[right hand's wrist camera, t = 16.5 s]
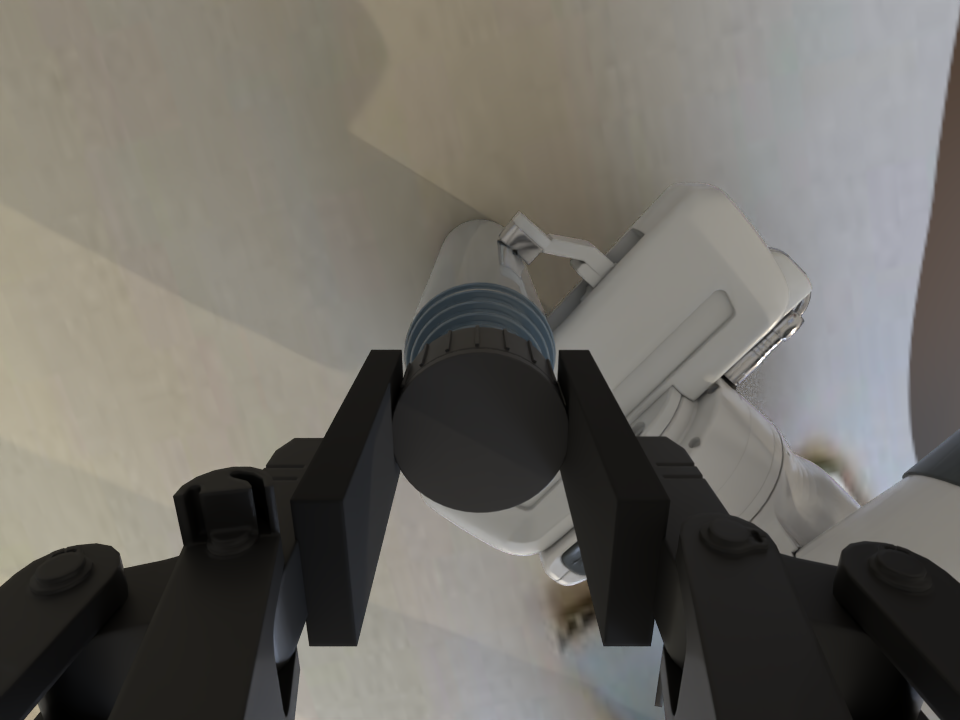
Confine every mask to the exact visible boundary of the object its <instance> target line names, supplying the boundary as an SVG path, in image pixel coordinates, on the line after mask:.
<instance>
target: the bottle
mask: <svg viewBox="0 0 960 720" xmlns="http://www.w3.org/2000/svg"><path fill="white" fill-rule="evenodd" d="M503 229H504V227H503V226H501V225H500V224H498V223H496V222H493V221H489V220H483V219H477V220H471V221H467V222H465V223H462V224H460V225H459V226H457V227H456V228H455V229H453V230H452V231H451V232H450V233H449V234H448V236H447V237H446V239H445V240H444V242H443V245H442V247H441V250H440V252H439V255H438V257H437V260H436V262H435V265H434V267H433V270H432V272H431V275H430V277H429V280H428V282H427V285H426V287H425V290H424V292H423V295H422V298H421V300H420V303H419V305H418V308H417V310H416V313H415V315H414V318H413V320H412V323H411V325H410V328H409V330H408V333H407V337H406V341H405V349H404V359H405V366H406V368H407V365H408V363H412V362H413V360H414V359H415V358H416V356H417V355H418V354H419V353H420V352H421V351H422V350H423V349H424V345H425V344H426V343H428V344H430V343H431V342H432V341H434V340H436V339H437V338H439V337H441V336H443V335H445V334H447V333H448V331H449V330H452V331H456V330H460V329H464V328H471V327H476V325H479V327H489V328H496V329H500V330H503V329H504V328H505V329H507V332H510V333H513V334H515V335H517V336H519V337H521V338H523V339H525V340H526V341H527V342H528V340H530V341H531V342H532V345H533V346H534V347H535V348H536V349H537V350H538V351H539V352H540V353H541V354H542V355H543V356H544V357H545V359H549V360H550V363H551V366H552V369H553V372H554V367H555V361H556V347H555V340H554V336H553V333H552V330H551V327H550V325H549V322H548V320H547V317H546V315H545V312H544V310H543V307H542V305H541V302H540V299H539V297H538V294H537V292H536V289H535V287H534V284H533V282H532V279H531V277H530V274H529V272H528V269H527V267H526V264H525V262H524V260H522V259H521V258H520V257H519V256H518V254H517V251H516V250H515V249H511V248H509V247H508V246H506V245H505V244H504V243H503V242H502V241H501V240H500V238H499V234H500V233H501V232H502V230H503Z"/></svg>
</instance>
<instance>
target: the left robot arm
mask: <svg viewBox="0 0 960 720" xmlns="http://www.w3.org/2000/svg"><path fill="white" fill-rule="evenodd" d="M499 238H500V240H501V241H502V242H503V243H504V244H505V245H506V246H508V247H509V248H511V249H515V250H516V251H517V254H518V256H519V257H520V258H521V259H522V260H524V261H525V262H526V263H527V264H528V265H529V264H530V263H531V262H532V261H533V260H534V259H535V258H536V257H537V256H538V255H539V254H540V252H542V253H547V254H552V255H557V256H562V257H567V258H572V260H571V261H570V265H571V266H572V267H573V268H574V270H575V271H576V272H577V273H578V274H579V275H580V276H581V277H582V278H583V279H582V280H581V281H580V282H579V283H578V284H577V285H576V286H575V287H574V288H573V289H572V290H571V291H570V293H569V294H568V295H567V296H566V297H565V298H564V299H563V300H562V301H561V302H560V303H559V304H558V305H557V306H556V308H555V309H554V310H553V311H552V312H551V313H550V314H549V315H548V316H547V320H548V322H549V325H550V327H551V330H552V333H553V336H554V340H555V347H556V361H555V367H554V375H555V377H556V380H557V374H558V354H559V350H589V351H590V353H591V355H592V356H593V358H594V360H595V362H596V364H597V366H598V368H599V369H600V371H601V373H602V375H603V377H604V379H605V380H606V382H607V384H608V386H609V388H610V390H611V391H612V393H613V395H614V397H615V399H616V401H617V403H618V404H619V406H620V408H621V410H622V412H623V414H624V415H625V417H626V419H627V421H628V423H629V425H630V426H631V428H632V430H633V432H634V434H635V436H666V437H668V438H669V439H671V440H672V441H674V442H675V443H677V444H678V445H680V446H681V447H683V448H684V449H685V450H686V452H687V453H688V454H689V456H690V457H691V459H692V460H693V462H694V463H695V466H697V468H698V469H699V471H700V472H701V473H702V475H703V478H705V479H706V481H707V482H708V484H709V485H710V487H711V488H712V490H713V491H714V492H715V494H716V495H717V497H718V498H719V500H720V501H721V503H722V504H723V506H724V507H725V509H726V510H727V512H728V513H729V514H730V515H732V516H737V517H739V518H742V519H744V520H746V521H749V522H751V523H753V524H755V525H756V526H758V527H759V528H761V529H762V530H763V531H765V532H766V533H768V535H769V536H770V537H771V539H772V540H773V541H774V543H775V544H776V545H777V548H778V550H779V552H780V553H781V554H785V555H789V556H792V557H796V558H800V559H805V560H810V561H815V562H820V563H825V564H830V565H835V566H838V562H839V558H840V555H841V551H842V550H843V549H844V548H845V547H846V546H848V545H849V544H850V543H856V542H861V541H871V542H882V543H888V544H893V545H894V546H900V547H903V548H906V549H909V550H910V551H912V552H914V553H916V554H919V555H921V556H923V557H925V558H927V559H929V560H930V561H932V562H933V563H935V564H936V565H938V566H939V567H941V568H942V569H944V570H945V571H946V572H948V573H949V574H950V575H951V576H952V577H953V578H955V579H956V580H957V581H958V582H959V583H960V429H958V430H957V431H956V432H955V433H954V434H952V435H951V436H950V437H949V438H947V439H946V440H945V441H944V442H943V443H941V444H940V445H939V446H938V447H936V448H935V449H934V450H933V451H932V452H930V453H929V454H928V455H927V456H925V457H924V458H923V459H922V460H920V461H919V462H918V463H917V464H915V465H914V466H913V467H912V468H911V469H909V470H908V471H907V472H906V473H904V475H903V476H902V478H903V479H902V480H901V481H899V482H898V483H896V484H895V485H893V486H892V487H891V488H889V489H888V490H886V491H885V492H883V493H882V494H880V495H879V496H877V497H876V498H874V499H873V500H871V501H870V502H868V503H867V504H865V505H864V506H862V507H861V506H860V505H859V504H858V503H857V502H856V501H855V500H854V499H853V498H852V497H851V496H850V495H849V494H848V493H847V492H846V491H845V490H844V489H843V488H842V487H841V486H840V485H839V484H838V483H837V482H836V481H835V480H834V479H833V478H832V477H831V476H829V475H828V474H827V473H826V472H825V471H824V470H823V469H821V468H820V467H819V466H817V465H816V464H814V463H813V462H811V461H809V460H807V459H805V458H802V457H800V456H798V455H796V454H794V453H793V452H792V451H791V450H790V448H789V446H788V444H787V442H786V441H785V439H784V437H783V436H782V434H781V432H780V431H779V430H778V429H777V428H776V427H775V426H774V424H773V423H771V422H770V421H769V420H768V419H767V418H766V417H765V416H764V415H763V414H762V413H761V412H759V411H758V410H757V409H756V408H755V407H754V406H753V405H752V404H751V403H750V402H748V401H747V400H746V399H745V398H744V397H743V396H742V395H741V394H739V393H738V392H737V391H736V387H737V386H738V385H739V384H740V383H741V382H742V381H743V380H744V379H745V378H747V377H748V376H749V375H750V374H751V373H752V372H753V371H754V370H755V369H756V368H757V367H758V366H759V365H760V364H761V363H762V362H763V360H765V359H766V358H767V356H768V355H769V354H770V353H771V351H773V350H774V349H775V347H777V346H778V345H780V344H781V343H782V342H785V341H787V340H788V339H789V338H790V337H792V336H793V335H794V334H795V333H796V332H797V331H798V329H799V328H800V327H801V326H802V324H803V323H804V319H803V318H802V317H801V316H802V315H803V313H804V312H805V310H806V308H807V307H808V304H809V301H810V298H811V290H812V285H811V282H810V280H809V278H808V277H807V275H806V273H805V272H804V271H803V270H802V269H801V268H800V267H799V266H798V265H797V264H796V263H795V262H794V261H793V260H792V259H791V258H790V257H789V256H788V255H787V254H786V253H784V252H783V251H781V250H779V249H776V248H772V247H767V245H766V244H765V242H764V241H763V239H762V238H761V237H760V235H759V234H758V232H757V231H756V230H755V228H754V227H753V226H752V224H751V223H750V222H749V220H748V219H747V218H746V217H745V215H744V214H743V213H742V211H741V210H740V209H739V208H738V207H737V206H736V204H735V203H734V202H733V201H732V200H731V199H730V198H729V197H728V196H727V195H726V194H725V193H724V192H723V191H722V190H721V189H719V188H717V187H715V186H713V185H710V184H706V183H695V182H690V183H675V184H672V185H670V186H669V187H668V188H667V189H666V190H665V191H664V192H663V193H662V194H661V195H660V196H659V197H658V198H657V199H656V200H655V201H654V203H653V204H652V205H651V206H650V207H649V208H648V209H647V210H646V211H645V212H644V213H643V214H642V215H641V216H640V218H639V219H638V220H637V221H636V222H635V223H634V224H633V225H632V226H631V227H630V228H629V229H628V230H627V231H626V233H625V234H624V235H623V236H622V237H621V238H620V239H619V240H618V241H617V242H616V243H615V244H614V245H613V246H612V248H611V249H610V250H609V251H608V252H607V253H606V254H605V255H604V254H603V253H602V252H601V251H600V250H598V249H597V248H596V247H595V246H594V245H593V244H591V243H590V242H589V241H587V240H582V239H577V238H571V237H566V236H561V235H555V234H550V233H549V234H548V235H546V234H545V233H544V232H543V231H542V230H541V229H539V228H538V227H537V226H536V225H535V224H534V223H533V222H532V221H531V220H529V219H528V218H527V217H526V216H525V215H524V214H523V213H521V212H520V211H518V213H517V214H516V215H515V216H514V217H513V218H512V219H511V221H510V222H509V223H508V224H507V225H506V227H505V228H504V229H503V230H502V232H501V233H500V234H499ZM797 304H798V306H797V307H796V309H795V310H792V309H793V308H794V307H795V306H796V305H797ZM420 494H421V497H422V499H423V501H424V502H425V503H426V504H427V505H428V506H429V507H430V508H432V509H433V510H434V511H436V512H437V513H438V514H440V515H441V516H443V517H444V518H445V519H447V520H448V521H450V522H451V523H453V524H454V525H456V526H458V527H459V528H461V529H462V530H464V531H465V532H467V533H469V534H470V535H472V536H474V537H475V538H477V539H479V540H481V541H482V542H484V543H486V544H488V545H490V546H492V547H494V548H496V549H498V550H500V551H502V552H505V553H508V554H512V555H519V556H528V555H534V554H537V553H539V557H540V560H541V563H542V566H543V569H544V571H545V573H546V574H547V575H548V576H549V577H550V578H551V579H553V580H554V581H556V582H557V583H559V584H561V585H565V586H570V585H575V584H578V583H580V582H583V581H585V580H587V578H586V574H585V570H584V566H583V562H582V558H581V554H580V550H579V546H578V541H577V537H576V533H575V529H574V525H573V521H572V517H571V513H570V509H569V505H568V501H567V497H566V493H565V489H564V485H563V481H562V477H561V473H560V470H559V472H558V473H557V474H556V476H555V477H554V479H553V480H552V481H551V482H550V483H549V484H548V486H547V487H546V488H544V489H543V490H542V491H541V492H540V493H539V494H537V495H536V496H534V497H533V498H531V499H530V500H528V501H526V502H524V503H522V504H520V505H518V506H515V507H512V508H510V509H506V510H502V511H497V512H489V513H471V512H463V511H458V510H454V509H451V508H448V507H445V506H442V505H440V504H438V503H436V502H434V501H432V500H431V499H429V498H427V497H426V496H424V495H423V494H422V493H420ZM921 710H922V712H923V713H924V714H925V715H926V716H927V718H928V719H929V720H940V719H939V718H938V717H937V715H936V714H935V713H934V712H933V711H932V710H931V708H930V707H929V706H928V705H927V704H926V703H925V701H923V704H922V707H921Z"/></svg>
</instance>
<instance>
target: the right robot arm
mask: <svg viewBox="0 0 960 720" xmlns="http://www.w3.org/2000/svg"><path fill="white" fill-rule="evenodd" d="M402 380H403V367H402V350H371V352H370V353H369V355H368V357H367V359H366V361H365V363H364V364H363V366H362V368H361V370H360V372H359V374H358V376H357V377H356V379H355V381H354V383H353V385H352V387H351V388H350V390H349V392H348V394H347V396H346V398H345V399H344V401H343V403H342V405H341V407H340V409H339V411H338V412H337V414H336V416H335V418H334V420H333V422H332V423H331V425H330V427H329V429H328V431H327V433H326V435H325V436H324V438H294V439H293V440H291V441H290V442H288V443H287V444H285V445H284V446H282V447H281V448H279V449H278V450H276V451H275V453H274V454H273V456H272V457H271V459H270V460H269V462H268V463H267V465H266V468H264V469H263V470H261V469H257V468H253V467H230V468H224V469H219V470H214V471H211V472H209V473H206V474H203V475H201V476H198V477H196V478H194V479H193V480H191V481H189V482H188V483H186V484H184V485H183V486H182V487H181V488H180V489H179V490H178V491H177V492H176V493H175V495H174V496H173V498H174V503H175V508H176V512H177V517H178V522H179V526H180V531H181V535H182V540H183V545H184V546H183V549H182V551H181V553H180V555H179V556H177V557H174V558H170V559H166V560H162V561H157V562H152V563H148V564H143V565H138V566H133V567H128V568H123V564H122V561H121V557H120V553H119V552H118V551H116V550H115V549H114V548H113V547H112V546H108V545H103V544H97V543H95V544H84V545H76V546H71V547H67V548H65V549H64V548H63V549H60V550H57V551H54V552H52V553H50V554H48V555H46V556H44V557H42V558H40V559H37V560H35V561H33V562H32V563H30V564H29V565H27V566H26V567H25V568H23V569H22V570H20V571H19V572H17V573H16V574H15V575H13V576H12V577H11V578H10V579H9V580H8V581H6V582H5V583H4V584H3V585H2V586H1V587H0V720H24V719H25V718H26V717H27V715H28V714H29V713H30V712H31V711H32V710H33V708H34V707H35V706H36V705H37V704H38V706H39V708H40V711H41V712H40V713H39V714H38V715H37V716H36V718H35V719H34V720H295V711H296V701H297V692H298V683H299V674H300V666H299V659H298V652H297V643H298V641H299V638H300V635H301V633H302V630H303V627H304V624H305V622H306V625H307V632H308V639H309V646H357V644H358V640H359V636H360V632H361V628H362V624H363V620H364V615H365V611H366V607H367V603H368V599H369V595H370V591H371V587H372V583H373V579H374V575H375V571H376V567H377V563H378V559H379V555H380V551H381V547H382V543H383V539H384V535H385V531H386V527H387V523H388V519H389V515H390V511H391V506H392V502H393V498H394V494H395V490H396V486H397V482H398V478H399V474H400V468H399V466H398V464H397V462H396V459H395V457H394V450H393V433H392V415H393V411H394V408H395V405H396V402H397V399H398V396H399V393H400V390H401V387H400V386H401V383H402ZM557 382H559V385H560V388H561V391H562V394H563V397H564V400H565V403H566V410H567V414H568V419H569V420H568V438H567V454H566V457H565V460H564V462H563V464H562V466H561V468H560V473H561V477H562V481H563V485H564V489H565V493H566V497H567V501H568V505H569V509H570V513H571V517H572V521H573V525H574V529H575V533H576V537H577V541H578V546H579V550H580V554H581V558H582V562H583V566H584V570H585V574H586V578H587V582H588V586H589V590H590V594H591V598H592V602H593V606H594V610H595V614H596V618H597V622H598V626H599V630H600V634H601V638H602V642H603V646H651V642H652V635H653V627H654V620H655V621H656V623H657V626H658V629H659V631H660V634H661V637H662V639H663V642H664V645H663V652H662V659H661V666H660V673H659V680H658V687H657V693H656V700H655V706H658V707H662V706H663V700H664V709H665V718H666V720H929V719H928V718H927V716H926V715H925V714H924V713H923V712H922V710H921V707H922V704H923V701H925V703H926V704H927V705H928V706H929V707H930V708H931V710H932V711H933V712H934V713H935V714H936V715H937V717H938V718H939V719H940V720H960V583H959V582H958V581H957V580H956V579H955V578H953V577H952V576H951V575H950V574H949V573H948V572H946V571H945V570H944V569H942V568H941V567H939V566H938V565H936V564H935V563H933V562H932V561H930V560H929V559H927V558H925V557H923V556H921V555H919V554H916V553H914V552H912V551H910V550H909V549H906V548H903V547H900V546H894V545H893V544H888V543H882V542H871V541H861V542H856V543H850V544H849V545H848V546H846V547H845V548H844V549H843V550H842V551H841V555H840V558H839V562H838V566H835V565H830V564H825V563H820V562H815V561H810V560H805V559H800V558H796V557H792V556H789V555H785V554H781V553H780V552H779V550H778V548H777V545H776V544H775V543H774V541H773V540H772V539H771V537H770V536H769V535H768V533H766V532H765V531H763V530H762V529H761V528H759V527H758V526H756V525H755V524H753V523H751V522H749V521H746V520H744V519H742V518H739V517H737V516H732V515H730V514H729V513H728V512H727V510H726V509H725V507H724V506H723V504H722V503H721V501H720V500H719V498H718V497H717V495H716V494H715V492H714V491H713V490H712V488H711V487H710V485H709V484H708V482H707V481H706V479H705V478H703V475H702V473H701V472H700V471H699V469H698V468H697V466H695V463H694V462H693V460H692V459H691V457H690V456H689V454H688V453H687V452H686V450H685V449H684V448H683V447H681V446H680V445H678V444H677V443H675V442H674V441H672V440H671V439H669V438H668V437H666V436H635V434H634V432H633V430H632V428H631V426H630V425H629V423H628V421H627V419H626V417H625V415H624V414H623V412H622V410H621V408H620V406H619V404H618V403H617V401H616V399H615V397H614V395H613V393H612V391H611V390H610V388H609V386H608V384H607V382H606V380H605V379H604V377H603V375H602V373H601V371H600V369H599V368H598V366H597V364H596V362H595V360H594V358H593V356H592V355H591V353H590V351H589V350H559V354H558V374H557Z"/></svg>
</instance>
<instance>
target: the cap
mask: <svg viewBox="0 0 960 720" xmlns="http://www.w3.org/2000/svg"><path fill="white" fill-rule="evenodd" d="M400 387H401V390H400V393H399V396H398V399H397V402H396V405H395V408H394V411H393V415H392V433H393V450H394V457H395V459H396V462H397V464H398V466H399V468H400V470H401V471H402V473H403V474H404V476H405V477H406V478H407V480H408V481H409V482H410V483H411V484H412V485H413V486H414V487H415V488H416V489H417V490H418V491H419V492H420V493H422V494H423V495H424V496H426V497H427V498H429V499H431V500H432V501H434V502H436V503H438V504H440V505H442V506H445V507H448V508H451V509H454V510H458V511H463V512H471V513H489V512H497V511H502V510H506V509H510V508H512V507H515V506H518V505H520V504H522V503H524V502H526V501H528V500H530V499H531V498H533V497H534V496H536V495H537V494H539V493H540V492H541V491H542V490H543V489H544V488H546V487H547V486H548V484H549V483H550V482H551V481H552V480H553V479H554V477H555V476H556V474H557V473H558V472H559V470H560V468H561V466H562V464H563V462H564V460H565V457H566V454H567V438H568V420H569V419H568V414H567V410H566V403H565V400H564V397H563V394H562V391H561V388H560V385H559V382H557V380H556V377H555V375H554V372H553V369H552V366H551V363H550V360H549V359H545V357H544V356H543V355H542V354H541V353H540V352H539V351H538V350H537V349H536V348H535V347H534V346H533V345H532V342H531V341H530V340H528V342H527V341H526V340H525V339H523V338H521V337H519V336H517V335H515V334H513V333H510V332H507V329H505V328H504V329H503V330H500V329H496V328H489V327H479V325H476V327H471V328H464V329H460V330H456V331H452V330H449V331H448V333H447V334H445V335H443V336H441V337H439V338H437V339H436V340H434V341H432V342H431V343H430V344H428V343H426V344H425V345H424V349H423V350H422V351H421V352H420V353H419V354H418V355H417V356H416V358H415V359H414V360H413V362H412V363H408V365H407V368H406V371H405V374H404V377H403V380H402V383H401V386H400Z"/></svg>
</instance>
